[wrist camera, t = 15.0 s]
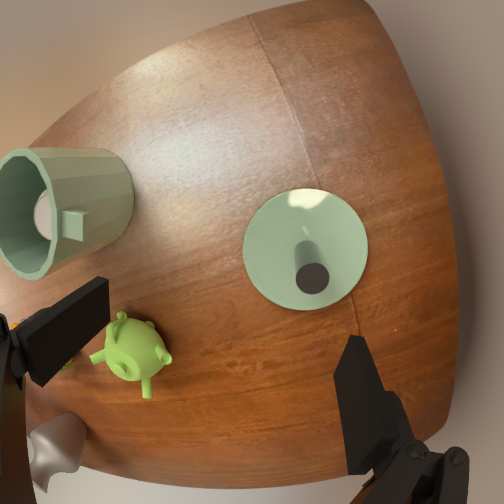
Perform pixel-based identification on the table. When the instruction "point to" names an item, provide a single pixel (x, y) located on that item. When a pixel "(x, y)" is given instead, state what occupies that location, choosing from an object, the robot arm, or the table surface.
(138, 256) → the table surface
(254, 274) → the lid
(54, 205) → the pot
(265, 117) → the table surface
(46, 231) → the beverage can
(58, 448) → the vase
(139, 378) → the teapot
